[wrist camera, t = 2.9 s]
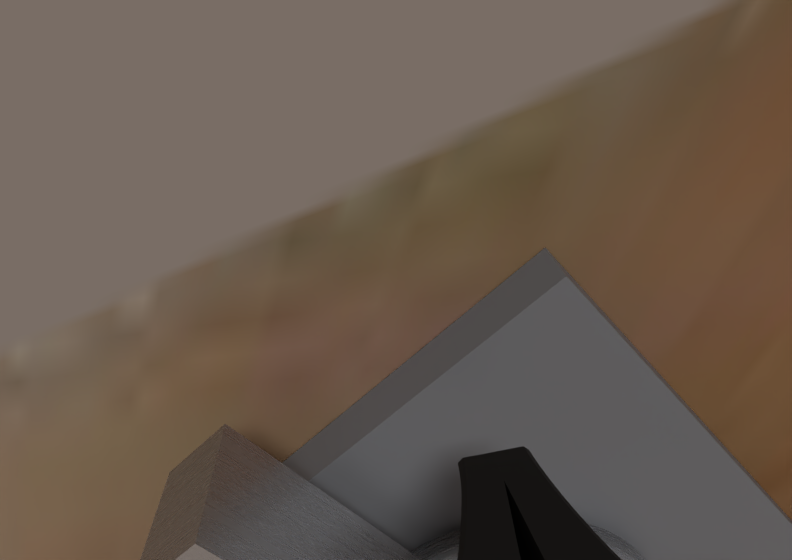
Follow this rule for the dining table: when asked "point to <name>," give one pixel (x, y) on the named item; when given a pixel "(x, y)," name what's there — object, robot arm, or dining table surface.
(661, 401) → the dial plate
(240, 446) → the dial
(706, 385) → the dining table surface
